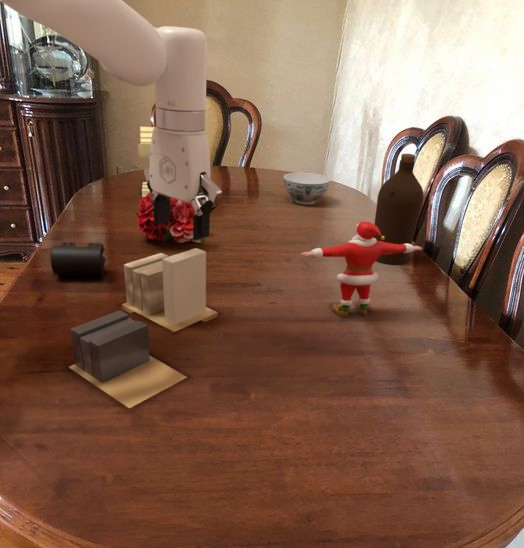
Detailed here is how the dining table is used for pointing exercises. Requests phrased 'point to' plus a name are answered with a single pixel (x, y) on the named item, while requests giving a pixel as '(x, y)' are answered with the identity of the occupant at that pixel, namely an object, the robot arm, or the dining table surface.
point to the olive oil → (399, 209)
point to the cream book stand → (152, 292)
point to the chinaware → (306, 186)
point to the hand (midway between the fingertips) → (181, 230)
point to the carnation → (175, 228)
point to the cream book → (184, 285)
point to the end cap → (78, 260)
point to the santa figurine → (359, 264)
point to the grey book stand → (120, 359)
